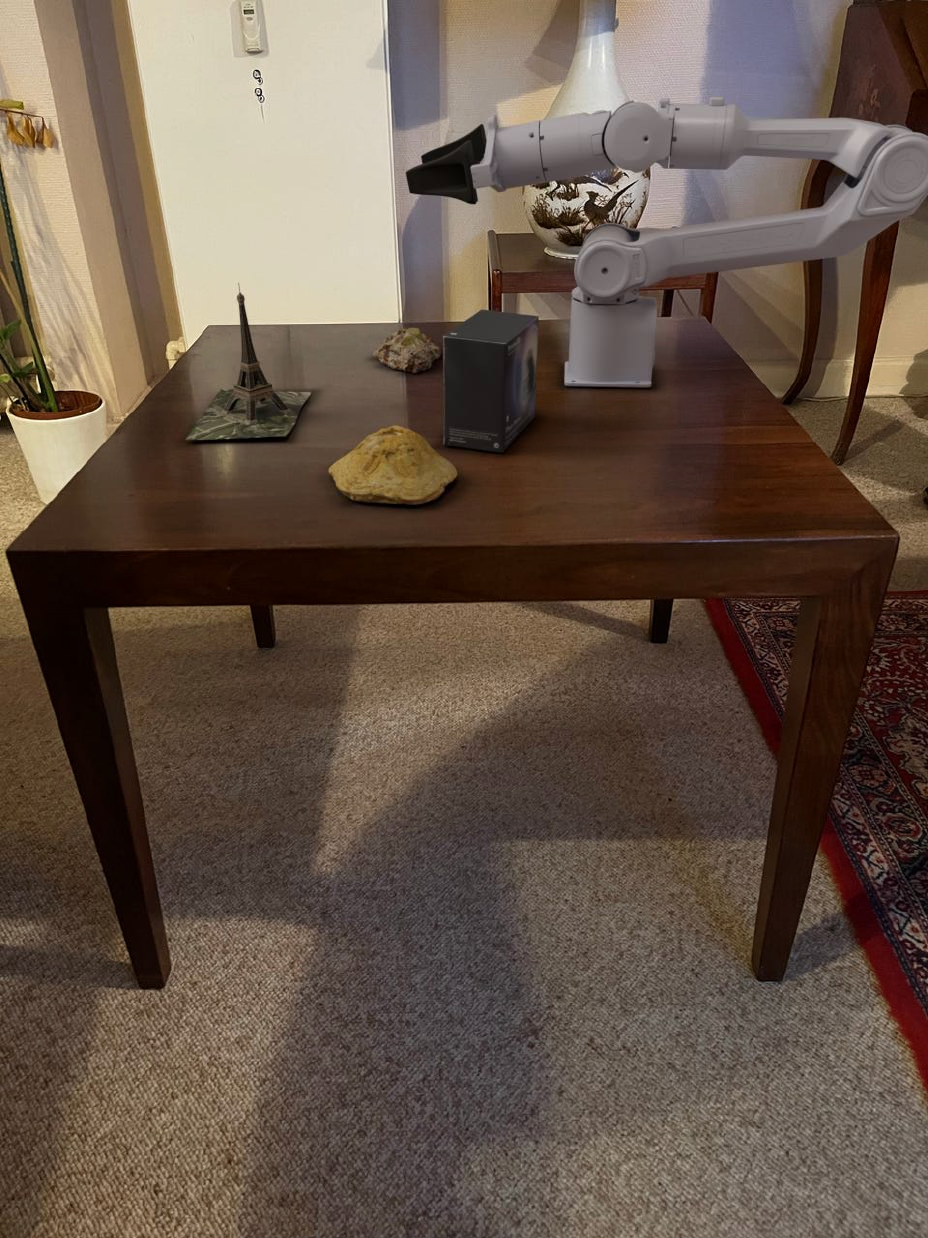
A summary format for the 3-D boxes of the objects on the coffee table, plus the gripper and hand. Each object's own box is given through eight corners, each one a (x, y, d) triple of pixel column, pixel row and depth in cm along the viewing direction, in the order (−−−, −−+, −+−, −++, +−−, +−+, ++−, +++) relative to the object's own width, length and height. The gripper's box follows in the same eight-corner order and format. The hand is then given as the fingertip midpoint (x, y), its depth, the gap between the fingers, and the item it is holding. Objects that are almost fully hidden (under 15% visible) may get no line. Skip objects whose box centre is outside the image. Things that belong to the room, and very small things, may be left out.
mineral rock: (365, 331, 114) (427, 310, 114) (377, 364, 117) (437, 343, 117) (373, 359, 106) (440, 336, 105) (385, 394, 108) (451, 372, 108)
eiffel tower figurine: (220, 393, 102) (200, 266, 95) (311, 392, 102) (298, 265, 95) (185, 444, 90) (159, 302, 83) (290, 442, 90) (273, 300, 83)
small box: (506, 455, 86) (508, 341, 81) (441, 447, 88) (438, 335, 83) (538, 417, 95) (542, 312, 89) (478, 411, 96) (478, 307, 91)
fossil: (311, 429, 75) (363, 393, 83) (302, 493, 78) (352, 452, 87) (436, 477, 73) (476, 435, 82) (421, 540, 77) (461, 494, 85)
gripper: (545, 95, 98) (422, 118, 101) (530, 120, 86) (391, 145, 90) (554, 168, 102) (435, 187, 105) (540, 200, 91) (407, 222, 94)
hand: (415, 173), depth 98 cm, fingers open, 7 cm apart
